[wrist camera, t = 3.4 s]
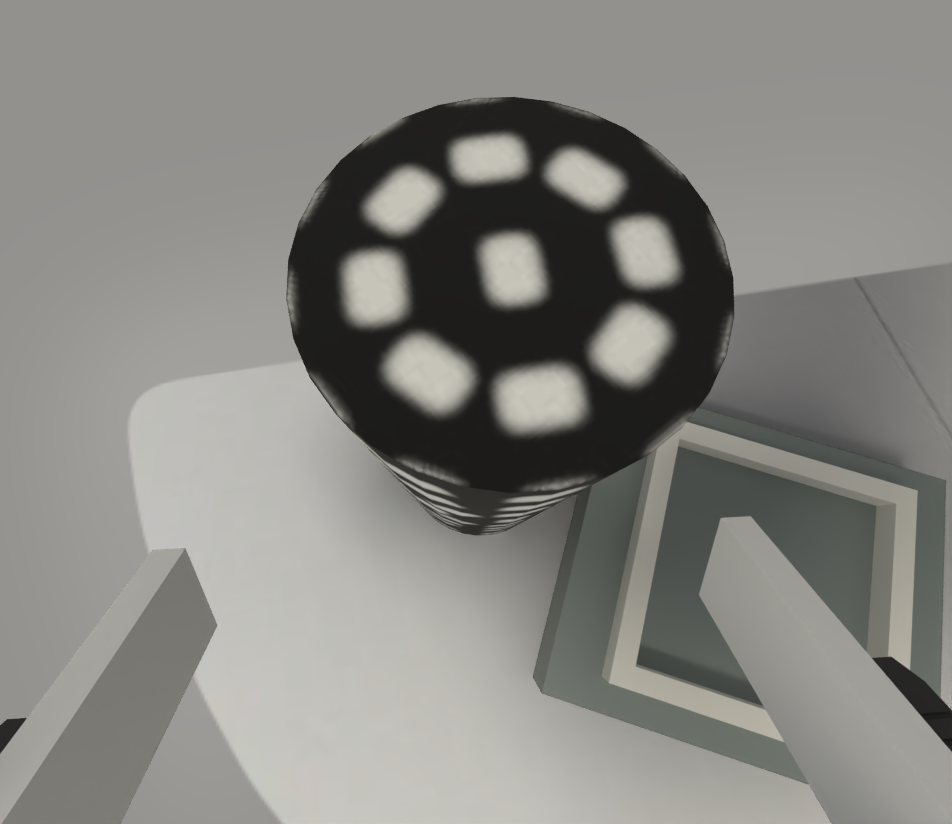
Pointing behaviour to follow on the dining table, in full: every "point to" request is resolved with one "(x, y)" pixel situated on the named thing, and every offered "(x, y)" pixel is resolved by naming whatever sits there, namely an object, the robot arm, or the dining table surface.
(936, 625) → the tray
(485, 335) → the black polka dot cylinder
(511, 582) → the dining table surface
